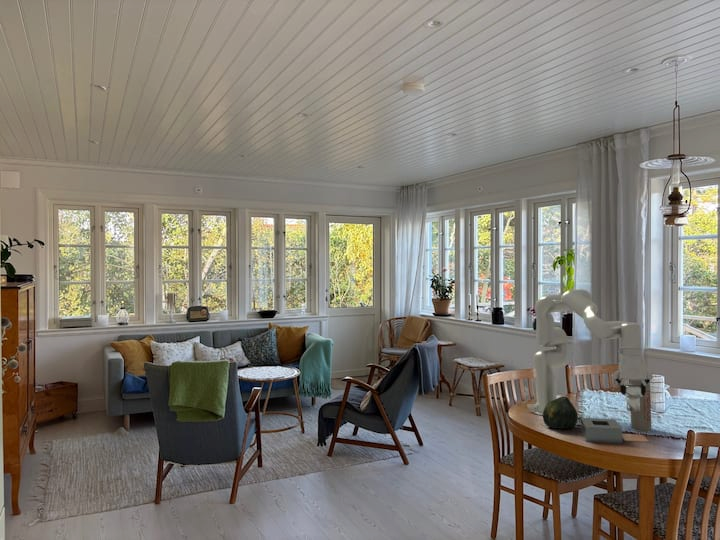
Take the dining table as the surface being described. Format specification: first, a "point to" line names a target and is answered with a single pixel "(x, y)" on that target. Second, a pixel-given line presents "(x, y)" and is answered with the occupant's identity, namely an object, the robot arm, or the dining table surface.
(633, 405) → the end cover
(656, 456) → the dining table surface
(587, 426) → the box
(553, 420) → the squash
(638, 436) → the coaster
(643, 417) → the thermos bottle
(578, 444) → the dining table surface
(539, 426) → the dining table surface
